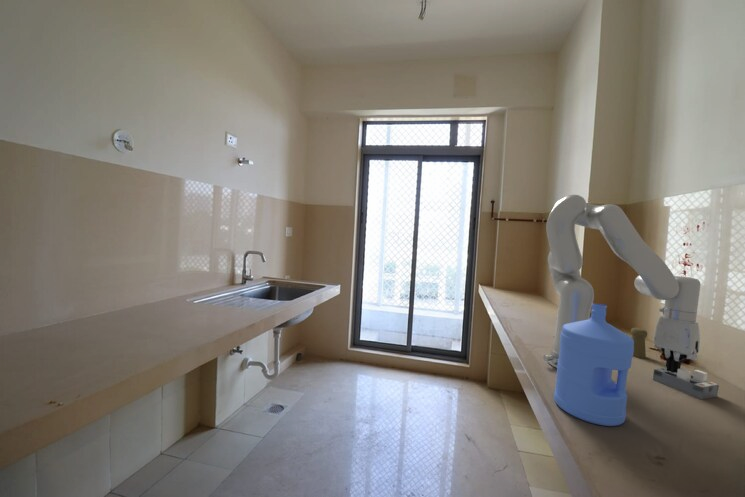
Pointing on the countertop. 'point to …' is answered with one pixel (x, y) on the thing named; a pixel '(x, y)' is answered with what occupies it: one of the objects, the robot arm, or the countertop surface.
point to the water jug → (593, 369)
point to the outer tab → (700, 376)
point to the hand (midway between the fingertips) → (672, 371)
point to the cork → (639, 342)
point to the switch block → (686, 384)
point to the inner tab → (684, 374)
